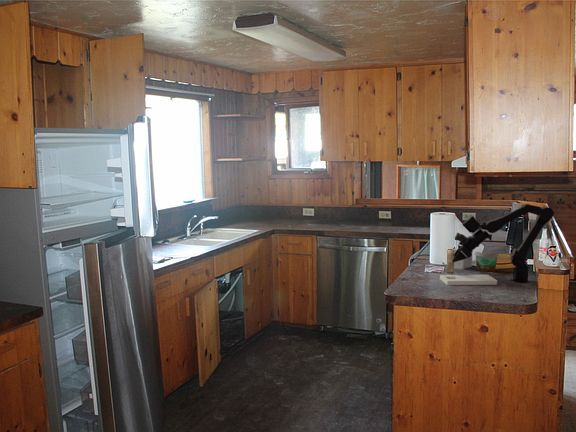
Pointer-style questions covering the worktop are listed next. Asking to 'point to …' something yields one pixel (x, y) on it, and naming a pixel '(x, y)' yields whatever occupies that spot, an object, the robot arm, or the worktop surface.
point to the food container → (486, 261)
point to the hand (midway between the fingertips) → (452, 259)
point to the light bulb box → (463, 262)
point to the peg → (450, 262)
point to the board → (468, 280)
